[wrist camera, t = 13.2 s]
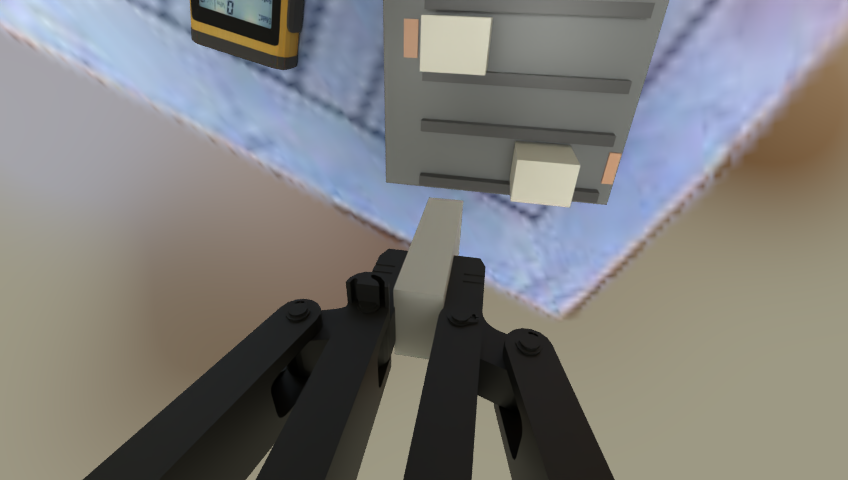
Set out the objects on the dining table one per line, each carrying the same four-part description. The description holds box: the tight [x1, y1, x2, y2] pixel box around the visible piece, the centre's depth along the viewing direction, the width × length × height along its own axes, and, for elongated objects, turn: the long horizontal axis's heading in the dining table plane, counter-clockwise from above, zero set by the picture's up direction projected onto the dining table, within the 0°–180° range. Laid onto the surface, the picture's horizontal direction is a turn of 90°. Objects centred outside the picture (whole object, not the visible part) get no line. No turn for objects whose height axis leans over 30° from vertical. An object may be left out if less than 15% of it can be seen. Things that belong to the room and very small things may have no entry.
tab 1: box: [420, 15, 493, 75], centre depth 25 cm, size 3×4×4 cm
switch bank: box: [383, 0, 669, 205], centre depth 27 cm, size 22×18×3 cm
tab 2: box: [510, 141, 580, 207], centre depth 28 cm, size 3×4×4 cm
